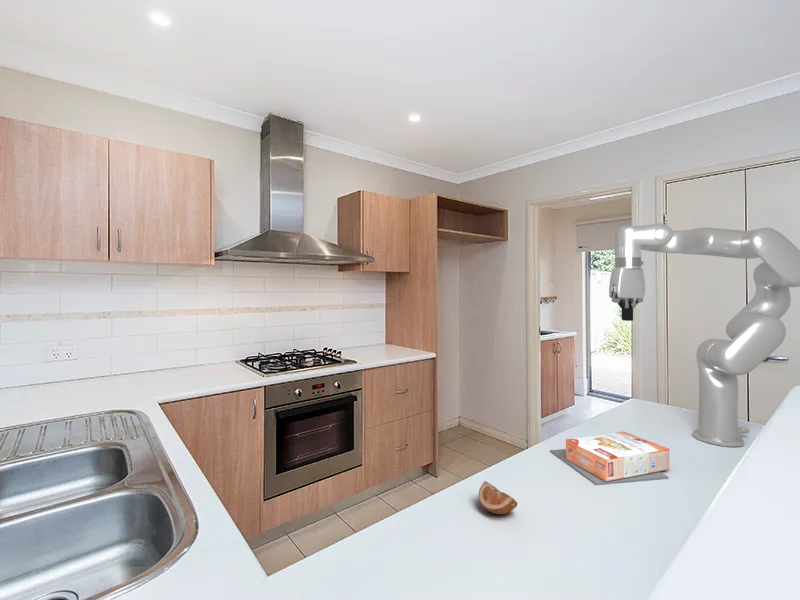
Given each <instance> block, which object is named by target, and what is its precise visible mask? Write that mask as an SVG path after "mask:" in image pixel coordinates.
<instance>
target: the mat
mask: <svg viewBox="0 0 800 600" xmlns="http://www.w3.org/2000/svg"><path fill="white" fill-rule="evenodd" d="M549 452H550V453H551V454H552V455H553V456H555V457H557V458H558V460H561V461H562V462H564V464H566V465H568V466H569V467H570V468H571V469H572V470H575V471H576V472H577V473H578V474H580V475H581V476H583V477H584V478H585V479H587V481H589V482H591V483H592V484H593V485H594V486H600V485H601V486H602V485H609V484H610V485H613V484H623V483H624V484H625V483H634V482H645V481H656V480H666V479H667V480H668V479H669V476H668V475H666V474H665V473H662V471H659V472H654V473H648V474H643V475H638V476H632V477H627V478H622V479H617V480H611V481H604V480H603V479H601V478H599V477H597V476H595V475H594V474H592V473H590V472H588V471H586V470H584V469H583V468H581V467H579V466H577V465H575V464H574V463H572V462H570V461H568V460H566V448H564V449H563V448H561V449H550V450H549Z"/></svg>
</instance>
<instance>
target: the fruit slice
mask: <svg viewBox="0 0 800 600" xmlns="http://www.w3.org/2000/svg"><path fill="white" fill-rule="evenodd" d="M478 500H479V502H480V504H481V506H482V507H483V508H484V509H486V510H487V511H488V512H490V513H492V514H496V515H504V514H508V513H510V512H512V511H513V510H514V509H516V508H517V506H518V505H519V504H518V502H517V501H516V499H515V498H513V497H512V496H511V495H509V494H507V493H506V492H503V491H500V490H499V489H498V488H497V486H496V487H495V486H494V485H492V484H491V483H489V482H488V481H486V480H484V481H483V482H482V484H481V486H480V488H479V490H478Z"/></svg>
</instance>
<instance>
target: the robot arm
mask: <svg viewBox="0 0 800 600" xmlns="http://www.w3.org/2000/svg"><path fill="white" fill-rule="evenodd" d="M614 233H615V234H614V268H612V270H611V273H610V278H609V286H608V297H609V298H610V299H611V302H612V303H614V304H617V305H618V307H619V308H620V309H621V321H626V322H632V321H634V309H635V308H636V306H637V305H638V304H640V303H643V302H644V297H645V294H646V283H645V273H644V269H643V268H642V266H643V265H644V261H642V251H647V252H655V253H667V254H683V255H695V256H697V255H698V256H710V257H711V256H712V257H722V258H731V259H743V260H751V259H757V258H759V259H761V261H762V262H761V263H759V264H758V265H757V266H756V267H755V268H754V270H753V274H752V276H753V280H754V284H755V293H754V296H753V297H752V298H751V299H750V300H749V302H748V303H747V304H746V305H745V306H744V307H743V308H742V309H741V310H740V311H739V312H737V313H736V314H735V315H734V316H733V317H732V318H731V319H730V321H728V323H727V324H726V326H725V332H726V335H727V337H728V338H729V339H731V340H727V339H721V338H709V339H705V340H704V341H702V342H701V343H700V344H699V346H698V347H697V349H696V363H697V367H698V368H697V369H698V428H697V429H694V430H692V433H691V434H692V437H693V438H694V439H696V440H699V441H701V442H703V443H707V444H711V445H715V446H722V447H728V448H729V447H732V448H738V447H739V448H740V447H742V446H744V445H745V441H744V440H745V439H743V438H742V437H740V436H741V435H744V434H749V433H750V429H749V428H748V427H747V426H743V427H742V426H741V427H740V426H739V425H738V424H739V423H738V420H739V418H738V417H739V415H738V414H739V381H738V376H743V375H746V374H749V373H750V372H752V371H753V370H755V369H756V368H758V367H759V366H760V365H761V364H762V363H763V362H764V361H765V360H766V359H767V358H769V356H771V354H773V352H775V351H776V350H777V349H778V348H779V347H780V346H781V345H782V344H783V342H784V341H785V339H786V335H787V328H786V326H785V324H784V322H783V320H781V318H783V316H784V315H785V314H786V313H787V311H788V310H789V309H790V306H791V302H792V301H791V300H792V299H791V291H790V288H798V287H800V249H799V248H798V247H797V246H796V245H794V243H793V242H791V240H790V239H789V238H787V237H786V236H785V235H784V234H783V233H781V232H780V231H778V230H777V229H775V228H771V227H760V228H755V229H751V230H742V229H741V230H738V229H727V228H717V227H699V228H691V229H685V230H684V229H683V230H672V228H671V227H670V226H669V225H667V224H665V223H652V224H646V225H645V224H644V225H639V226H638V225H622V226H620V227H617V228H616V229H615V231H614Z"/></svg>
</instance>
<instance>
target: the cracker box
mask: <svg viewBox="0 0 800 600" xmlns="http://www.w3.org/2000/svg"><path fill="white" fill-rule="evenodd" d="M565 449H566V460H568V461H570V462H572V463H574V464H575V465H577V466H579V467H581V468H583V469H584V470H586V471H588V472H590V473H592V474H594V475H595V476H597V477H599V478H601V479H603V480H604V481H611V480H617V479H622V478H627V477H632V476H638V475H643V474H648V473H654V472H663V471H669V469H670V448H668V447H665V446H662V445H661V444H657V443H655V442H652V441H649V440H647V439H644V438H641V437H639V436H636V435H633V434H631V433H629V432H626V431H617V432H611V433H603V434H595V435H590V436H583V437H573V438H566V439H565Z"/></svg>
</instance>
